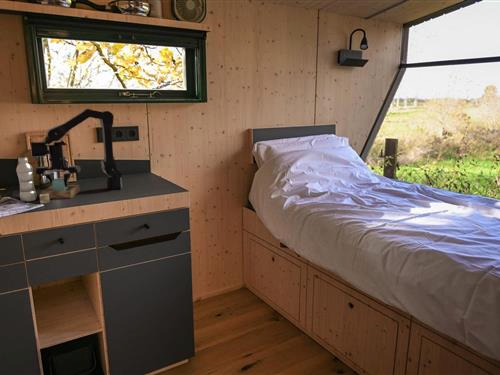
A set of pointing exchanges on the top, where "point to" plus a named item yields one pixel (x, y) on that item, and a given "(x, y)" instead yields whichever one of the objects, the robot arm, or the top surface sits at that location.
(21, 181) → the plastic bottle
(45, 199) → the birch cube
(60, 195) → the serving box
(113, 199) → the top surface
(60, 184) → the teal block
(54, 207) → the top surface
